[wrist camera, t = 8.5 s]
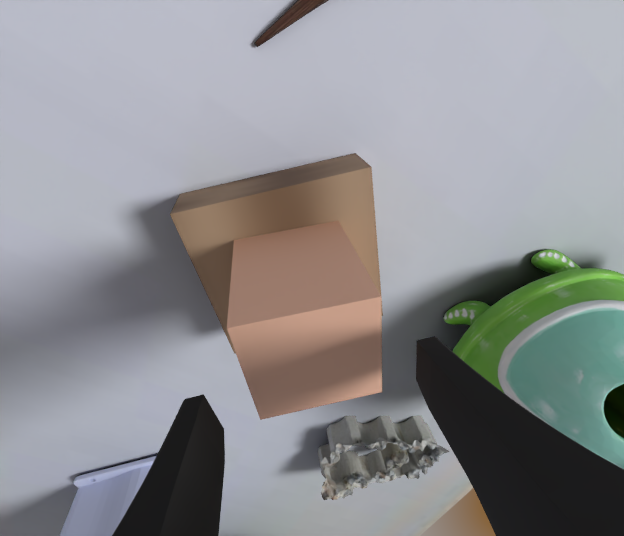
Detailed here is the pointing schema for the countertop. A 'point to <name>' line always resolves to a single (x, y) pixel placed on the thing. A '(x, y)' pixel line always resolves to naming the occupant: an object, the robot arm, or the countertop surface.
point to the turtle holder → (556, 350)
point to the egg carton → (375, 453)
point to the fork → (290, 18)
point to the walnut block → (275, 217)
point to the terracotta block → (304, 319)
